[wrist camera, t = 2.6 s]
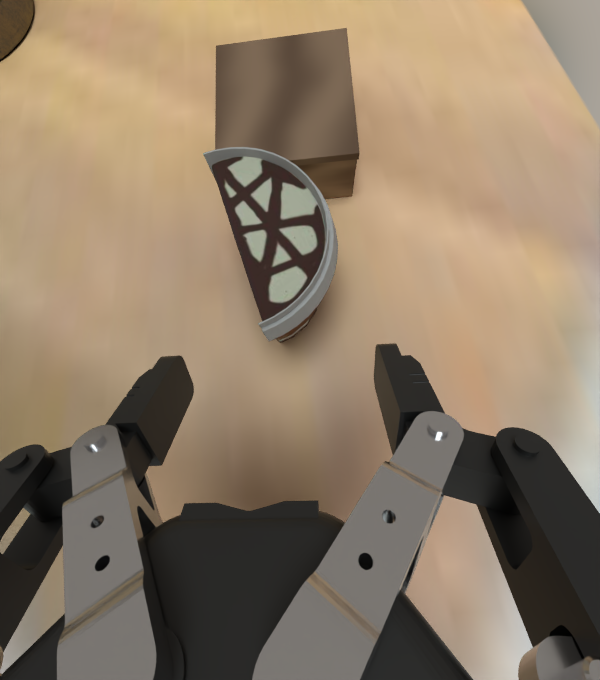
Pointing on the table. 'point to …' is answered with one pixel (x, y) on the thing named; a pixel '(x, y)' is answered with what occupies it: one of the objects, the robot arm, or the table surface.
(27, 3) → the wooden container
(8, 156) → the table surface
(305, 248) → the food container
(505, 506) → the robot arm
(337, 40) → the walnut block
